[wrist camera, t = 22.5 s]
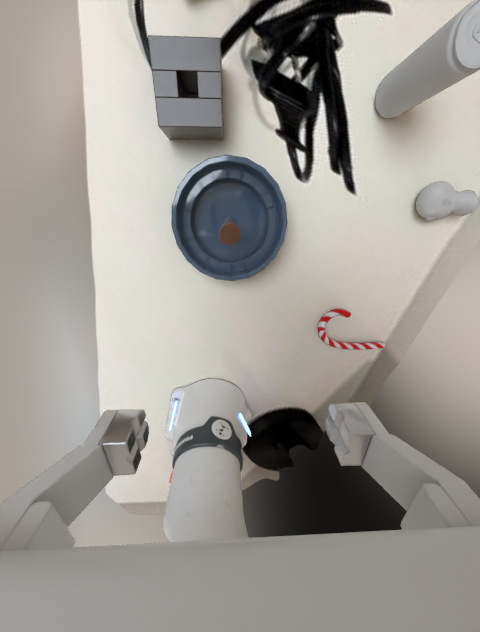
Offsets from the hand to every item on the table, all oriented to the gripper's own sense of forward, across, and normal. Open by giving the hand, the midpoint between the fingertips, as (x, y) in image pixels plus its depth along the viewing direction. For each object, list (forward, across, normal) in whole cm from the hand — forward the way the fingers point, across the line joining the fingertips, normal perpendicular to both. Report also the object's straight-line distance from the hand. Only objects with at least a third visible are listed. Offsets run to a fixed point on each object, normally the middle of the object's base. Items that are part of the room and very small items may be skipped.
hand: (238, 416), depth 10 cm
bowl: (+31, 0, -7) cm, 32 cm away
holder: (+31, +5, -21) cm, 38 cm away
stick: (+30, 0, -7) cm, 31 cm away
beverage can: (+31, -21, -22) cm, 44 cm away
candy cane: (+31, -24, +13) cm, 41 cm away
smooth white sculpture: (+31, -32, -9) cm, 46 cm away
